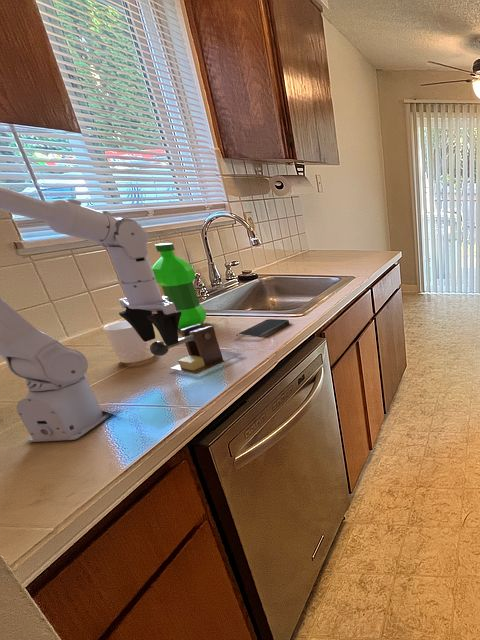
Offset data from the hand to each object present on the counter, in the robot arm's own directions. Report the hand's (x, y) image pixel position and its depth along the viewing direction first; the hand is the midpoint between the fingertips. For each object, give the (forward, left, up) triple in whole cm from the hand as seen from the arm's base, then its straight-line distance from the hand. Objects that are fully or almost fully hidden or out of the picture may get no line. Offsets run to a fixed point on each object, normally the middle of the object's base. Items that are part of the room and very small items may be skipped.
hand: (161, 342), depth 87 cm
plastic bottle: (+38, +18, -10) cm, 44 cm away
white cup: (+11, +15, -10) cm, 21 cm away
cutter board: (+8, -4, -9) cm, 12 cm away
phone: (+31, -7, -9) cm, 33 cm away
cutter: (+3, -2, -3) cm, 5 cm away
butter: (+4, -2, -8) cm, 9 cm away
